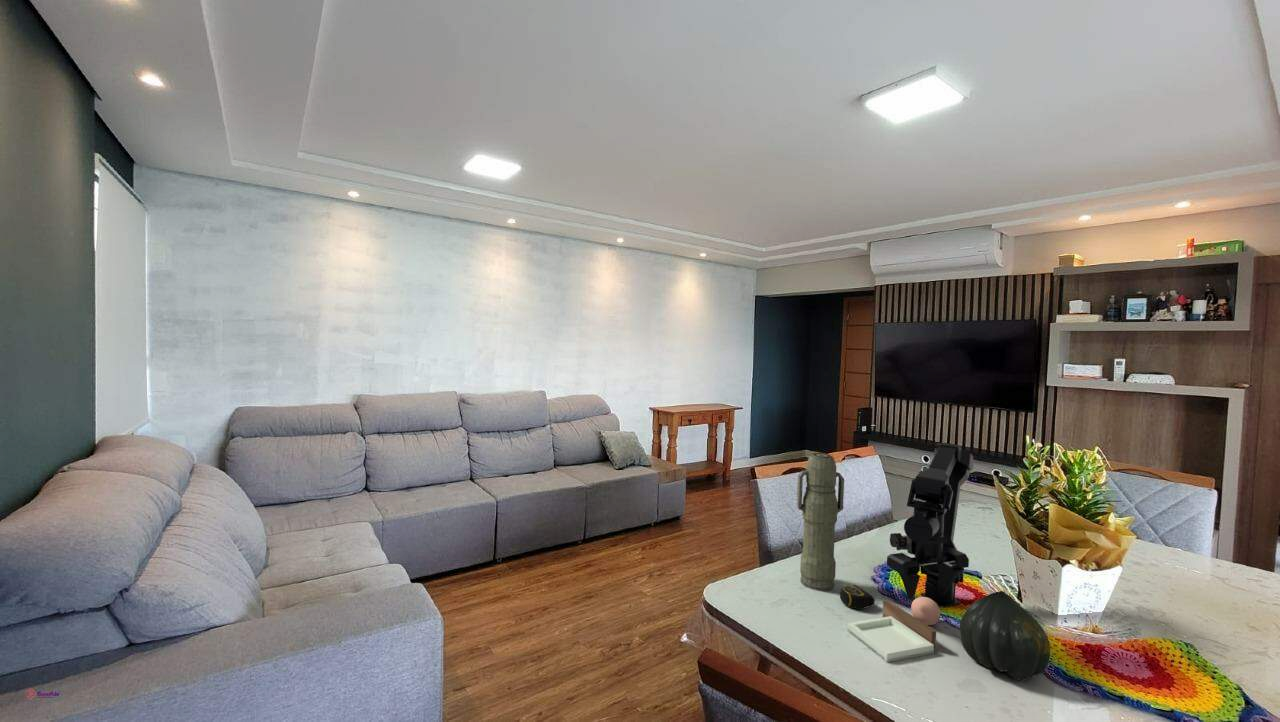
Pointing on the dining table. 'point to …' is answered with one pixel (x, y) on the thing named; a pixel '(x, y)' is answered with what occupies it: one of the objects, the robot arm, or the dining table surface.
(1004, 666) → the squash
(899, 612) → the divider rail
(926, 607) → the ball
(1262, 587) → the dining table surface
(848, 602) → the tape measure
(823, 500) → the thermos
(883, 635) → the dish
